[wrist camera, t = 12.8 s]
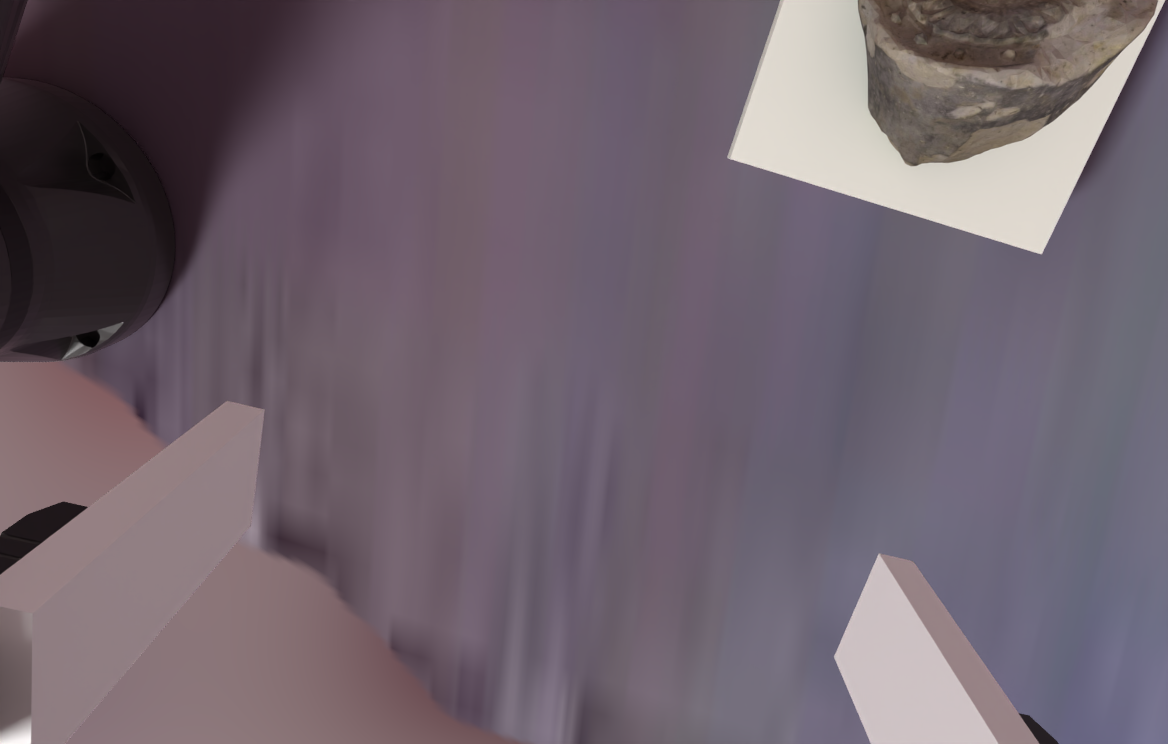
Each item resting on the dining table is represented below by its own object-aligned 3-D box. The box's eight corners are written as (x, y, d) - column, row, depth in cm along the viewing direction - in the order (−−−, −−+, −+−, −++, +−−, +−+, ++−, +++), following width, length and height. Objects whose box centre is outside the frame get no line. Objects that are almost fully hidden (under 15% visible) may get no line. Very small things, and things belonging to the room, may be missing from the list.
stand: (719, 155, 40) (730, 158, 36) (835, -191, 35) (861, -228, 31) (1002, 242, 41) (1041, 254, 37) (1154, -84, 36) (1217, -108, 32)
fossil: (1013, -185, 31) (1239, -164, 24) (1051, 2, 37) (1241, 66, 30) (792, 0, 33) (936, 73, 26) (861, 149, 39) (994, 243, 32)
